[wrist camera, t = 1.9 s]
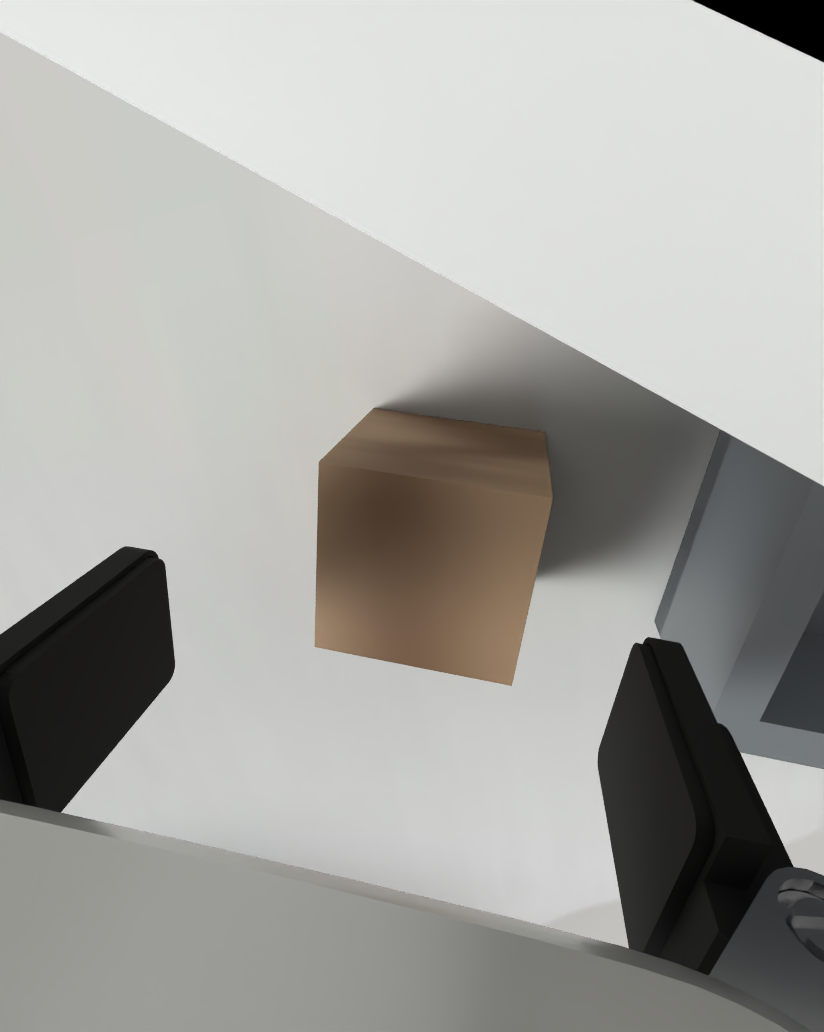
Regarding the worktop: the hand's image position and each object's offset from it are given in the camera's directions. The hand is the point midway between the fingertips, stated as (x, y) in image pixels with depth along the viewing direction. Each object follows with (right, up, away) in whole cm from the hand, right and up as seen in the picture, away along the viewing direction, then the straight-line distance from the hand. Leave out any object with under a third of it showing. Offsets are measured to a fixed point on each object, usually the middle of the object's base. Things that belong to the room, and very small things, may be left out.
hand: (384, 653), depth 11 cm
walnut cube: (+2, +3, +6) cm, 7 cm away
